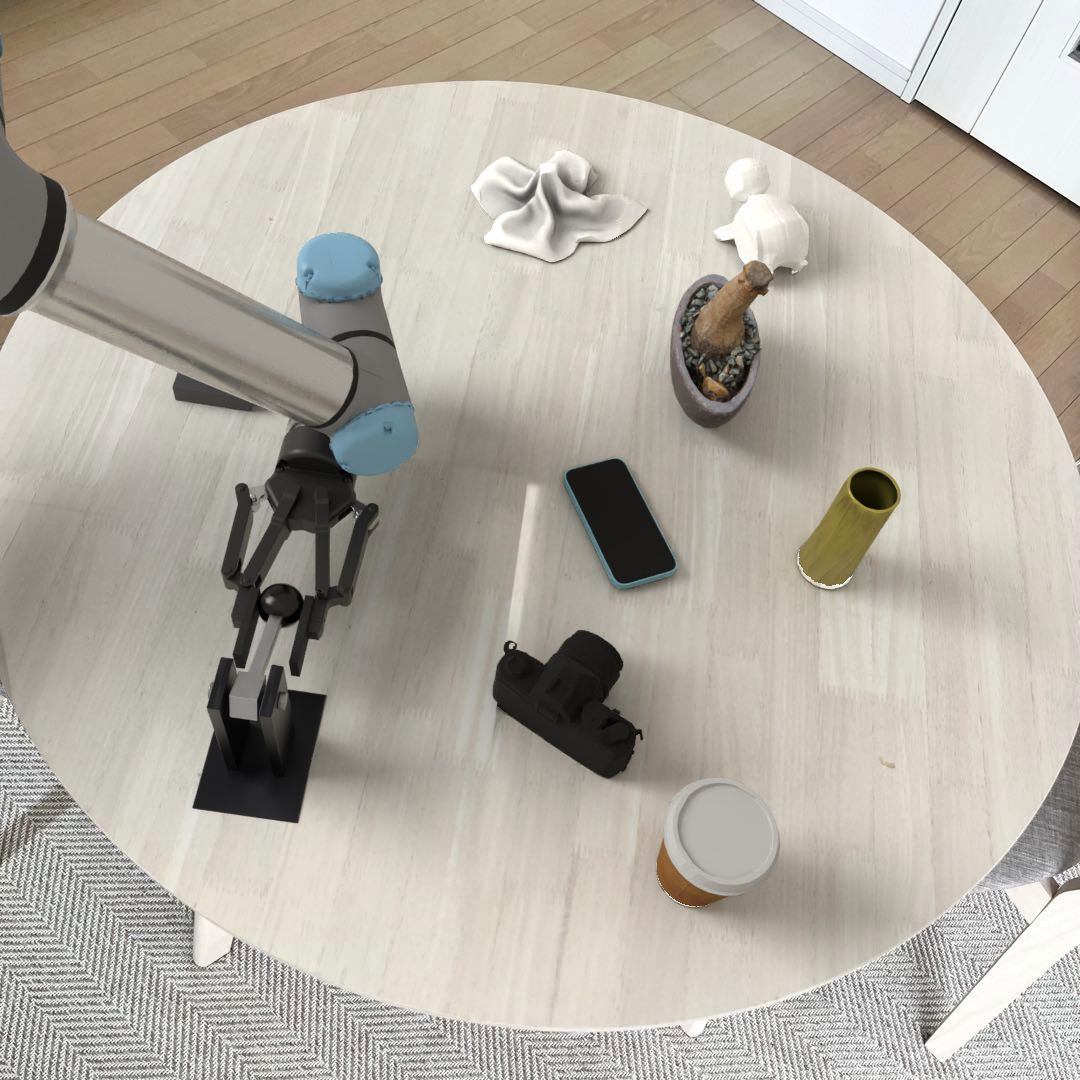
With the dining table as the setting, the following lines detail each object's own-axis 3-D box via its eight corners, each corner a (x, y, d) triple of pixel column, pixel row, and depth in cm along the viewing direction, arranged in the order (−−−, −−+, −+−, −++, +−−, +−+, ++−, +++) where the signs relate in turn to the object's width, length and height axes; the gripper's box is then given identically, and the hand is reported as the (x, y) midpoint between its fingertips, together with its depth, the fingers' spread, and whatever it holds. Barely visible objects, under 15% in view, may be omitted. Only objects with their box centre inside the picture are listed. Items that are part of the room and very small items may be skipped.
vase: (783, 560, 118) (829, 483, 106) (821, 530, 121) (870, 452, 109) (827, 601, 116) (879, 527, 104) (864, 569, 119) (919, 494, 107)
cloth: (497, 273, 135) (501, 235, 129) (449, 169, 143) (451, 128, 138) (666, 242, 141) (677, 204, 135) (610, 144, 149) (619, 104, 144)
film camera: (664, 713, 107) (686, 673, 100) (610, 793, 103) (628, 757, 95) (533, 626, 111) (544, 581, 103) (475, 699, 106) (482, 657, 98)
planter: (697, 468, 123) (747, 346, 106) (603, 365, 129) (637, 234, 112) (794, 412, 129) (856, 288, 112) (701, 316, 135) (746, 185, 118)
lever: (264, 604, 101) (264, 570, 99) (308, 611, 101) (309, 577, 99) (218, 722, 90) (217, 686, 87) (268, 729, 90) (268, 694, 87)
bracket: (229, 686, 104) (208, 610, 91) (326, 700, 104) (319, 627, 92) (193, 812, 97) (166, 750, 85) (298, 827, 98) (285, 767, 85)
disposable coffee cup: (631, 915, 97) (661, 878, 87) (643, 809, 102) (672, 762, 92) (740, 936, 97) (782, 902, 87) (746, 829, 102) (787, 784, 92)
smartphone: (622, 455, 122) (681, 569, 114) (620, 461, 122) (679, 574, 115) (560, 471, 119) (617, 588, 112) (559, 477, 120) (615, 593, 113)
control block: (175, 400, 120) (169, 376, 116) (200, 330, 125) (195, 304, 121) (250, 412, 120) (247, 388, 116) (272, 341, 125) (269, 316, 122)
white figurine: (794, 281, 144) (751, 174, 145) (827, 252, 136) (782, 140, 137) (737, 297, 141) (694, 188, 143) (767, 268, 133) (722, 153, 135)
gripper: (411, 481, 112) (367, 698, 99) (238, 454, 111) (172, 669, 99) (413, 435, 105) (366, 661, 93) (229, 407, 105) (157, 630, 92)
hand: (266, 665), depth 96 cm, fingers closed on lever, 4 cm apart
